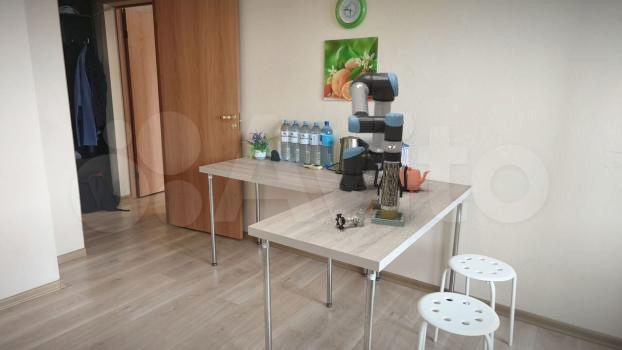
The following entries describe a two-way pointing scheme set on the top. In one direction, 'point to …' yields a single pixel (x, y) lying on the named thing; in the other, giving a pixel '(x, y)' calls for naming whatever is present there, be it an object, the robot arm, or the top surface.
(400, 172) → the teapot
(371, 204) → the board
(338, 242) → the top surface
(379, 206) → the block
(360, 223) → the valve
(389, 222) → the tray
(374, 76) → the robot arm
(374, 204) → the walnut plate
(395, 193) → the log cylinder
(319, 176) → the top surface
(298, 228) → the top surface
